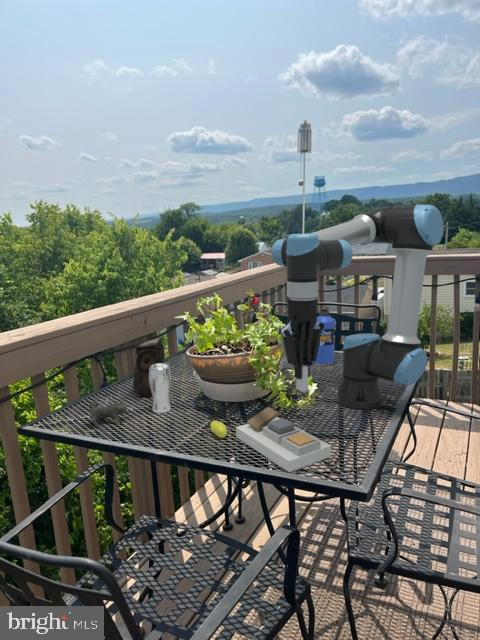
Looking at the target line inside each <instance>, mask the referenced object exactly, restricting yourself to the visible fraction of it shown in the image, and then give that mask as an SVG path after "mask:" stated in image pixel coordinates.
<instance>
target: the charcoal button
mask: <svg viewBox="0 0 480 640" xmlns="http://www.w3.org/2000/svg"><path fill="white" fill-rule="evenodd" d="M294 426H295V423H293V422H292V421H289V420H287V419H285V418H283V417H282V418H280V419H278V420H274V421H271V422H268V429H270V430H272V431H274V432H275V433H277V434H279V435H281V434H284V433H287V432H290V431H293V430H294Z"/></svg>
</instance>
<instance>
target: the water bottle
mask: <svg viewBox="0 0 480 640" xmlns="http://www.w3.org/2000/svg"><path fill="white" fill-rule="evenodd" d="M329 309H330V308H329V306H328V305H322V306H321V307H320V308H319V310H318V313H319V316H316V317H317V321H318V322H320V323H323V324H324V328H323V330H322V332H321V337H320V342H319V348H318V353H317V358H316V361H313V362H314V363H318V364H328V363H332V362H334V363H335V337H334V335H335V330H336V319H335V318H333V317H331V316H330V313H331V312H330V310H329ZM313 362H312V363H313ZM314 363H313V364H314Z"/></svg>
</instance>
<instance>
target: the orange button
mask: <svg viewBox="0 0 480 640" xmlns="http://www.w3.org/2000/svg"><path fill="white" fill-rule="evenodd" d="M287 440H289V441H291V442H293V443H294V444H296V445H298V446H302V445H305V444H308V443H311V442H313V441H314V439H312V438H310V437H308V436H307V435H305V434H303V433H300V434H297V435H294V436H291V437H288V438H287Z"/></svg>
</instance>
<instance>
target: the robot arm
mask: <svg viewBox="0 0 480 640" xmlns="http://www.w3.org/2000/svg"><path fill="white" fill-rule="evenodd" d="M442 216H443V215H442V214H441V211H440V210H439V209H438V208H437V207H436V206H434V205H432V204H419V203H417V204H404V205H403V204H401V205H386V206H383V207H378V208H376V209H372V210H368V211H365V212H364V213H360V214H357V215H356V216H354V217H353V218H352V219H351V220H349V221H346V222H342V223H340V224H336V225H333V226H330V227H327V228H323V229H321V230H318V231H313V232H309V233H293V234H289V235H288V237H287V238H281V239H277V240H276V241H275V242H274V243H273V244H272V247H271V258H272V261H273V262H274V263H275V265H277V266H280V267H284V268H286V296H287V297H288V298H287V300H286V313H287V316H288V317H287V318H288V319H287V321H286V326H285V327H284V328H280V329H278V330H279V332H280V334H281V336H282V337H283V348H284V350H285V355H286V360H287V363H288V364H289V365H292V366H294V379H296V381H295V384H296V385H295V388H296V390H297V391H300V392H303V393H305V392H308V391H309V377H310V371H311V369H310V367H312V366H313V365H314V363H313V361H316V358H317V353H318V348H319V342H320V337H321V332H322V330H323V328H324V324H323V323H320V322H318V321H317V317H318V316H317V314H318V313H319V300H318V299H317V298H318V297H319V272H327V271H338V270H340V269H344V268H347V267H348V266H349V265H350V264H351V262H352V261H353V260H352V259H353V249H352V248H353V247H355V246H358V245H361V246H367V245H369V244H388V245H391V250H392V251H393V253H394V254H395V256H396V257H395V263H394V271H393V280H392V287H391V288H392V290H391V296H390V307H389V315H388V323H387V331H386V333H385V334H384V335H382V336H380V335H379V334H378V333H371V332H370V333H356V334H350V335H348V336H346V337H345V338H344V340H343V347H342V380H341V381H340V385H339V388H338V390H337V393H336V401H337V403H339V405H341V406H344V407H347V408H349V409H355V410H356V409H357V410H372V409H377V408H379V407H382V405H383V404H384V396H383V393H382V390H381V386H380V383H379V379H383V380H387V381H390V382H392V383H396V384H401V385H404V386H405V385H406V386H410V385H413V384H415V383H416V382H418V381H419V380H420V378H421V377H422V375H423V374H424V372H425V370H426V367H427V362H428V357H427V356H428V355H427V352H426V351H425V350H424V349H423V348H421V344H422V341H421V340H420V339H419V337H418V336H417V334H418V327H419V319H420V318H419V317H420V309H421V303H422V302H421V301H422V293H423V285H424V277H425V270H426V262H427V257H428V256H429V255H430V254H431V253H433V249H434V248H433V247H434V246H436V245H438V244H440V243H441V241H442V239H443V235H444V227H445V226H444V221H443V217H442Z"/></svg>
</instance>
